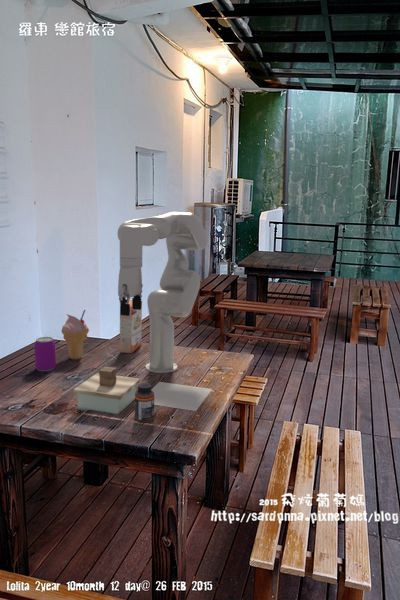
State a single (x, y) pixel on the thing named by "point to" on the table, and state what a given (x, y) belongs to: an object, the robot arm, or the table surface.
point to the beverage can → (45, 354)
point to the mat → (179, 396)
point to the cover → (107, 384)
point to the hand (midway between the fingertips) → (131, 312)
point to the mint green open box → (105, 403)
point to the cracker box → (130, 330)
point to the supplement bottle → (144, 403)
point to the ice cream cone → (75, 335)
